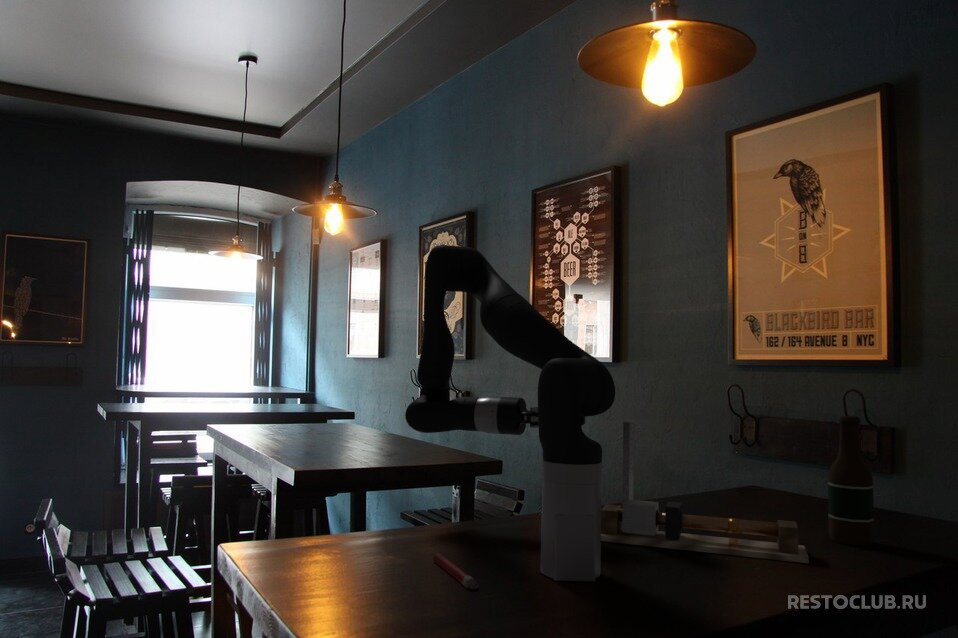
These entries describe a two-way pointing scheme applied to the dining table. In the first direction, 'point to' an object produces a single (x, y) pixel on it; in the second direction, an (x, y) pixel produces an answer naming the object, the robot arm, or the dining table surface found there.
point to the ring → (672, 520)
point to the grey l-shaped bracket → (635, 512)
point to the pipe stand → (709, 540)
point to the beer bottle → (850, 490)
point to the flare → (455, 572)
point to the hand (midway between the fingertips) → (584, 419)
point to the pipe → (720, 524)
